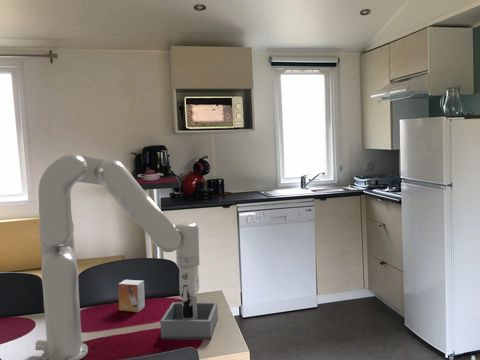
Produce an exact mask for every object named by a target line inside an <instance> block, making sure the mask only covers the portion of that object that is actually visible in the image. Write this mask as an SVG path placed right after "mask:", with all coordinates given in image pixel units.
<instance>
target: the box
mask: <svg viewBox="0 0 480 360" xmlns="http://www.w3.org/2000/svg"><path fill="white" fill-rule="evenodd" d="M218 309H219V308H218V302H216V301H215V302H214V301H211V302H210V301H209V302H204V301H203V302H201V301H200V302H198V301H197V320H183V310H182V301H181V302H179V301H178V302H177V301H176V302H173V301H172V303H171V304H170V305H169V307H168V308H167V310H166V311H165V313H164V315H163V316H162V318H161V319H160V321H159V322H160V338H161V339H160V340H184V341H185V340H192V341H193V340H194V341H195V340H197V341H199V340H201V341H202V340H203V341H205V340H207V341H209V340H212V338H213V335H214V332H215V328H216V327H217V323H218V320H219V311H218Z"/></svg>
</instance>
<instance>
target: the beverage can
mask: <svg viewBox="0 0 480 360" xmlns="http://www.w3.org/2000/svg"><path fill="white" fill-rule="evenodd" d="M188 296H190V295H188ZM197 296H198V295H196V296H195V297H194V298H193V297H192V305H193V318H184V317H183V320H197V302H198V300H197ZM187 299H188V300H189V302H190V298H187ZM181 302H182V310H183V297H181Z"/></svg>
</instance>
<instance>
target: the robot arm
mask: <svg viewBox="0 0 480 360" xmlns="http://www.w3.org/2000/svg"><path fill="white" fill-rule="evenodd" d="M76 183H84V184H92V185H99V186H103V187H104V189H106V190H107V192H108V193H109V194H110V195H111V197H113V199H114V200H115V201H116V202H117V204H118V205H119V206H120V207H121V208H122V210H123V211H124V212H125V213H126V214H127V215H128V216H129V217H130V218H131V220H134V221H135V222H136V223H137V224H138V225H139V226H140V227H141V228H142V229H143V230H144V231H145V233H146V234H147V235H149V237H150V240H151V243H153V244H154V245H155V246H156V247H157V248H159V250H161V251H163V252H164V253H173V252H174V251H175V255H176V256H175V257H176V258H175V259H176V260H175V261H176V266H177V268H179V283H178V284H179V296H180V298H182V297H183V317H184V318H193V305H192V297H193V298H194V297H195V296H196V295H197V294H198V292H199V290H200V275H199V267H200V242H199V241H200V236H199V226H198V224H197V223H196V222H195V223H194V222H182V223H178V224H177V223H175V224H174V223H172V222H171V220H170V219H168V217H167V216H166V215H165V214H164V213H163V211H162V210H161V209H160V208H159V206H158V205H156V203H155V202H154V200H153V199H152V198H151V197H150V196H149V194H148V193H147V192H146V191H145V190H144V189H143V188H142V186H141V185H140V183H138V181H137V180H136V179H135V178H134V176H133V175H132V174H131V172H130V171H129V170H128V169H127V168H126V167H125V165H124V164H123V163H122V162H121V161H119V160H117V159H109V158H100V157H94V156H93V157H92V156H87V155H81V154H77V153H65V154H63V155H62V156H60V157H59V158H58V159H56V160H55V161H53V162H52V163H51V164H49V165H48V167H47V168H46V169H45V170H44V172H43V173H42V175H41V177H40V180H39V184H38V215H39V216H38V217H39V225H38V232H39V233H38V234H39V237H40V238H39V239H40V251H41V272H40V273H41V284H42V292H43V307H44V317H45V318H44V319H45V334H46V337H45V338H46V340H44V339H41V340H40V339H37V340H36V342H35V346H34V349H35V351H43V353H42V355H41V360H81V359H83V358H85V356H86V355H87V354H88V351H89V348H88V345H87V344H86V343H84V342H83V339H82V323H81V321H82V320H81V306H80V304H81V303H80V292H79V266H78V262H77V261H78V260H77V257H76V251H75V239H74V232H75V231H74V230H75V227H74V226H75V225H74V221H73V216H72V215H73V214H72V199H71V198H72V197H71V192H72V189H73V187H74V185H75V184H76ZM198 266H199V267H198ZM188 295H190V296H188ZM197 296H198V295H197ZM187 298H190V302H189V300H188V299H187Z"/></svg>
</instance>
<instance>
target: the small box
mask: <svg viewBox="0 0 480 360" xmlns="http://www.w3.org/2000/svg"><path fill="white" fill-rule="evenodd" d="M117 288H118V310H119V311H120V312H121V311H124V312H133V313H139V312H140V311H141V310H143V309H144V308H145V306H146V305H145V304H146V303H145V301H146V300H145V280H140V279H139V280H137V279H136V280H135V279H134V280H133V279H124V280H122V281H121V282H119V283H118V287H117Z"/></svg>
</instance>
